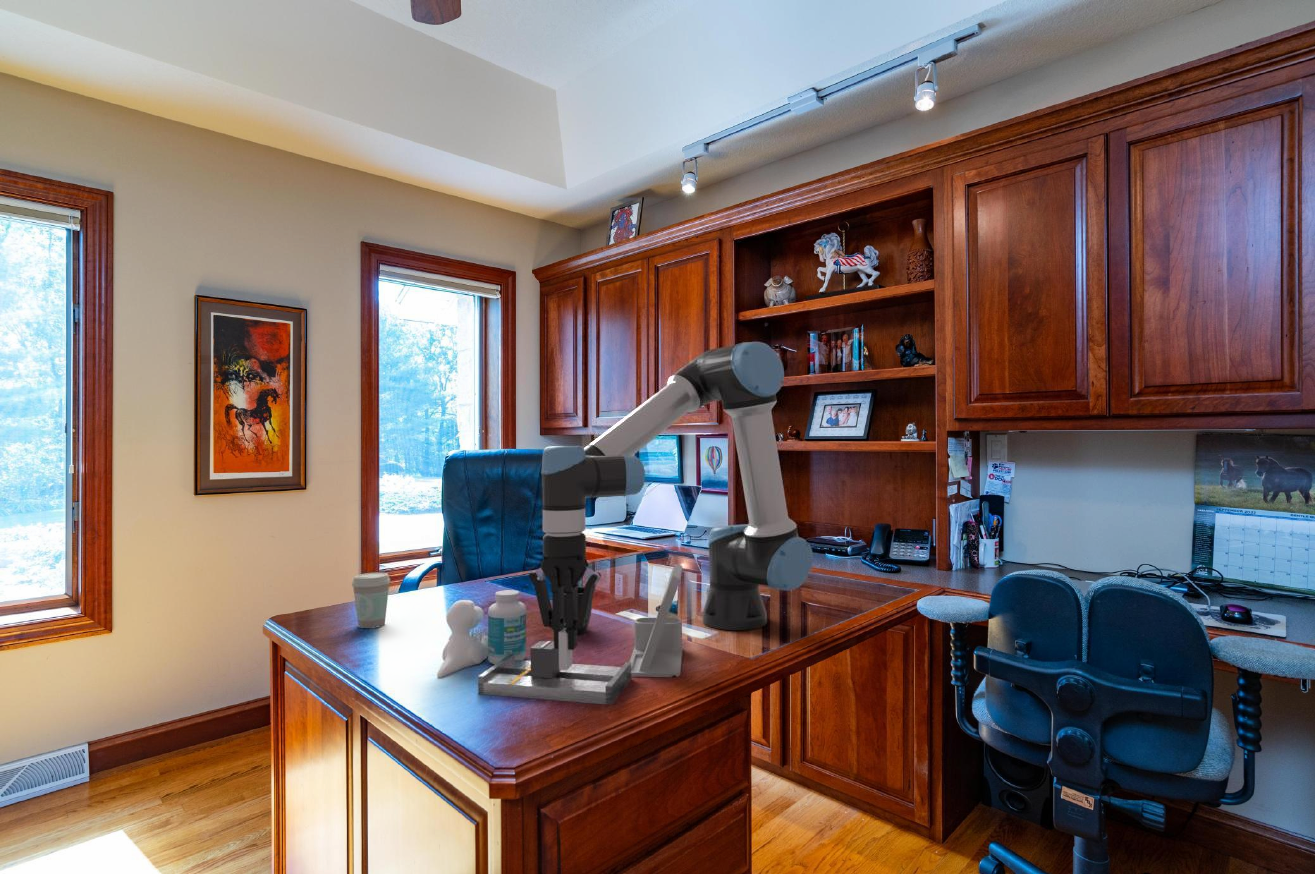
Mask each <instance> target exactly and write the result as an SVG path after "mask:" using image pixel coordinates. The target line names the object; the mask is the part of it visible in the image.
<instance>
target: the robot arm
mask: <svg viewBox="0 0 1315 874" xmlns="http://www.w3.org/2000/svg"><path fill="white" fill-rule="evenodd" d="M784 370H785V369H784V364H783V362H782V359H781V358H780V355H779V354H778V352H776V351H775V349H773V348H772V347H771V346H770V345H769V344H767V343H765V342H761V341H751V342H750V341H748V342H746V341H745V342H744V341H743V342H741V343H737V344H732V345H728V346H723V347H719V348H718V347H717V348H714V349H710V350H707V351H705V352H703V353H701V354H700V355H698V356H696V357H695V358H693V359H692V360H691V361H689V362H688V363H687V364H686V365H684V366H682V368H680V369H679V370H678V371H676V372H675V373H673V375H671V376H670V377H668V380H667V384H666V385H665V386H664V387H663V388H661V389H660V390H659V391H657V392H656V393H654V395H652V396H650V398H648V399H647V400H646V401H644V402H643V403H642V404H640V405H639V406H638V407H636V408H635V409H634V410H632V411H630V413H628V414H627V415H626V416H625V417H624V418H622V419H621V420H619V421H618V422H616V423H615V424H614V425H613V426H612V427H610V428H609V429H607V430H606V431H605V432H603V433H602V434H601V435H600V436H598V437H597V438H595V440H593V441H592V442H590V443H589V444H588V445H586V446H585V447H584V446H581V445H564V446H563V445H559V446H558V445H557V446H556V445H555V446H552V445H550V446H547V447H545V448H544V449H543V452H542V459H541V470H540V473H541V478H542V479H541V483H542V484H541V486H542V532H543V533H545V534H544V535H543V537H542V555H543V556H542V557H543V558H542V561H541V563H540V567H539V568H538V569H536V570H534V571H532V572H530V573H529V574H528V578H529V580H530V581H531V583H532V585H533V586H534V590H535V595H536V600H537V604H538V608H539V612H540V616H541V621H542V624H543V627H545V628H550V629H551V630H552V632H553V642H554V647H555V649H559V670H568V669H569V668H570V667H571V666H572V664H573V651H574V650H575V649H576V648H577V646H578V635H577V629H581V628H583V627H584V626H585V625H586V624H587V622H588V617H589V613H590V608H591V604H592V605H593V600H594V594H595V589H596V586H597V584H598V582H599V581H600V580H601V576H602V574H601V572H599V571H596V572H595V571H594V570H593V569H591V568H589V562H588V561H587V558H586V557H587V556H586V555H587V541H586V540H587V538H586V537H587V536H586V535H585V533H584V531H586V499H591V498H605V497H606V498H608V497H624V498H625V497H626V496H631V495H632V496H633V495H634V496H635V495H637V494H639V493H640V492H641V490H642V489H643V488H644V485H645V482H646V474H645V473H646V471H645V467H644V463H643V462H642V460H641V459H640V458H639V457H637V456H636V455H635V454H637V453H638V452H639V451H640V450H641V449H643V448H645V447H646V446H647V445H648V444H650V443H651V442H652V441H653V440H654V439H655V438H657V437H658V436H659V435H660V434H662V433H663V432H664V431H666V429H668V428H669V427H671V426H672V425H673V424H674V423H675V422H677V421H678V420H680V419H681V418H682V417H684V416H685V415H686V414H687V413H695V412H696V411H698V410H699V409H700V408H702V407H703V406H705V405H708V404H710V403H714V402H717V401H721V403H722V404H721V405H722V409H723V410H722V411H723V412H725V414H727V415H729V416H730V417H731V421H732V422H731V423H732V428H733V434H734V440H735V447H736V452H737V457H738V464H739V469H740V470H739V471H740V475H741V481H742V482H741V483H742V487H743V494H744V500H745V506H746V511H747V518H748V523H747V524H746V523H744V524H733V525H732V524H731V525H724V526H722V525H721V526H715V527H713V528H711V530H710V531H709V536H708V537H709V539H708V544H707V545H708V562H709V563H708V566H709V571H708V572H709V591H708V594H707V597H706V601H705V604H704V607H703V611H702V623H703V624H704V625H706V626H708V627H710V628H714V629H719V630H724V631H725V630H727V631H748V630H749V631H750V630H756V629H759V628H762V627H764V626H766V625H767V623H768V616H767V610H766V607H765V604H764V602H763V598H762V595H761V592H760V586H763V587H767V588H770V589H773V590H775V591H776V590H777V591H778V590H781V591H793V590H796V589H797V588H799V587H800V586H802V585H803V584H804V583H805V582H806V580H807V578H808V575H810V573H811V570H812V567H813V561H814V560H813V559H814V558H813V557H814V556H813V555H814V554H813V549H812V547H811V545H810V543H809V542H807V540H806V539H804V538H803V537H800V536H799V533H798V527H797V523H796V522H795V521H794V520H792V519H791V518H790V517H789V516H788V515H789V514H788V508H787V501H786V496H785V489H784V484H783V483H784V482H783V478H782V471H781V465H780V464H781V463H780V459H779V458H780V457H779V452H778V451H779V450H778V446H777V445H778V444H777V439H776V434H775V427H774V421H773V415H772V414H773V413H772V409H773V408H774V406H775V405H776V403H777V395H776V394H777V393H778V392H779V391H780V390H781V388H782V387H783V384H782V383H783V382H784V381H785V379H784V378H785V371H784ZM634 455H635V456H634ZM584 575H585V577H584ZM583 577H584V581H585V585H584V587H585V588H584V592H583V596H582V601H581V606H580V610H579V615H578V599H577V590H578V586H579V583H580V581H581V580H582V578H583ZM546 578H547V579H548V581H549V582H550V585H551V586H550V591H551V593H552V595H551V597H552V598H550V595H549V590H548V586H547V582H546V580H545V579H546ZM564 588H565V592H566V623H565V624H567V628H563V627H564V626H565V624H564ZM551 599H552V600H551ZM551 601H552V603H551Z"/></svg>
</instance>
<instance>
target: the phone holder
mask: <svg viewBox="0 0 1315 874" xmlns="http://www.w3.org/2000/svg"><path fill="white" fill-rule="evenodd" d="M682 569H683V566H682V564H678V563H674V565H673V567H672V571H671V574H670V576H669V580H668V582H667V585H666V588H665V592H664V594H663V598H662V600H661V603H660V607H659V610H658V612H657V615H656V617H639V618H637V619H635V620H634V647H633V650H632V653H631V656H630V659H629V662H631V678H633V677H634V678H635V677H637V678H638V677H639V678H641V677H643V678H644V677H645V678H653V677H654V678H663V677H664V678H673V676H675V677H679V676H681V671H682V670H681V669H682V659H683V621H682V620H681V619H680V618H676V617H668V615H669V612H670V609H671V607H672V604H673V601H674V599H675V596H676V592H677V590H678V586H679V584H680V582H681V581H680V580H681V577H682V571H683V570H682Z"/></svg>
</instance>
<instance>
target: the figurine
mask: <svg viewBox="0 0 1315 874" xmlns="http://www.w3.org/2000/svg"><path fill="white" fill-rule="evenodd" d="M483 619H484V611H483V608H482V607H480V606H477V605H476V604H475V603H474V602H473V601H472V600H470V599H469V600H468V599H467V600H466V599H460V600H457V601H455V602H454V603H453V604H452V605H451V606H450V608H449V609H448V611H447V613H446V623H447V625H448V627H449V628H450V631H451V634H450V636H449V638H448V641H447V643H445V646H444V648H443V650H442V654H441V655H442V656H441V657H442V660H443V662H442V664H441V666H440V668H439V669H438V671H437V675H436V676H437V678H443V677H446V676H448V675H450V674H454V673H456V672H458V671H460V670H462V669H465V668H467V667H470V666H475V665H478V664H481V663H482V662H483V661H484V660H486V659H487V658H488V631H486V629H485V628H484V629H482V628H480V629H478V630H477V629H476V630H475V631H474V629H475V628H477V626H478V625H479V623H481V622H482V620H483Z"/></svg>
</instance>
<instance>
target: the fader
mask: <svg viewBox="0 0 1315 874" xmlns="http://www.w3.org/2000/svg"><path fill="white" fill-rule="evenodd" d="M529 650H530V656H529V657H530V661H531V677H543V678H555V677H556V674H557V673H558V672H559V671H561V670H559V649H555V647H554V641H551V640H548V641H543V640H539V641H537V643H535V644H534V645H532V646H531V647H530V649H529Z"/></svg>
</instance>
